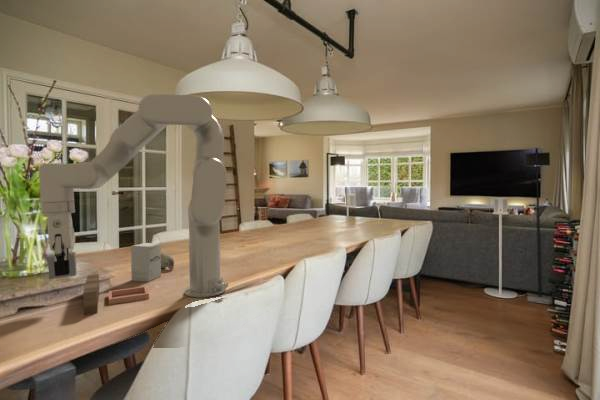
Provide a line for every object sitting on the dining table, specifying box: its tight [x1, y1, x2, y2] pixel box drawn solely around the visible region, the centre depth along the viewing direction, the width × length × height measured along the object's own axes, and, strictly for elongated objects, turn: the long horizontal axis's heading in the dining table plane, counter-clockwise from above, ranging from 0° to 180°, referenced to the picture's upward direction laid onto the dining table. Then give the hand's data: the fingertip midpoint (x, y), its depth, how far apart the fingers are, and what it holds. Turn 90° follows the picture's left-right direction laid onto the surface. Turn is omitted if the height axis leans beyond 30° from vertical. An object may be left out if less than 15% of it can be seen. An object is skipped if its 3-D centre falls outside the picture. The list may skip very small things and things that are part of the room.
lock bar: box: [47, 251, 78, 280], centre depth 95 cm, size 6×4×6 cm, turn 119°
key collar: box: [108, 285, 150, 305], centre depth 103 cm, size 11×9×2 cm
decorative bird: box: [161, 252, 175, 271], centre depth 139 cm, size 5×16×8 cm, turn 56°
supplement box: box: [130, 242, 162, 282], centre depth 124 cm, size 7×7×13 cm
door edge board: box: [82, 273, 100, 316], centre depth 98 cm, size 20×3×6 cm, turn 29°
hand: (63, 272), depth 95 cm, fingers closed on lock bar, 4 cm apart
